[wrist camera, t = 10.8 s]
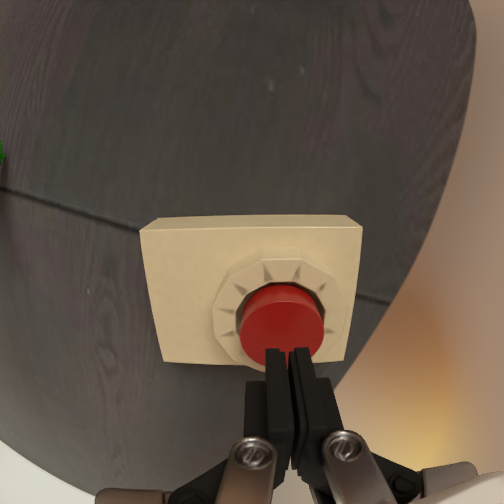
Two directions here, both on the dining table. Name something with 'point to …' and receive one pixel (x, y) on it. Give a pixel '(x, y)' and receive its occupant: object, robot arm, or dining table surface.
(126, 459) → the dining table surface
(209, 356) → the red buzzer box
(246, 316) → the red button
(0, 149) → the flower
